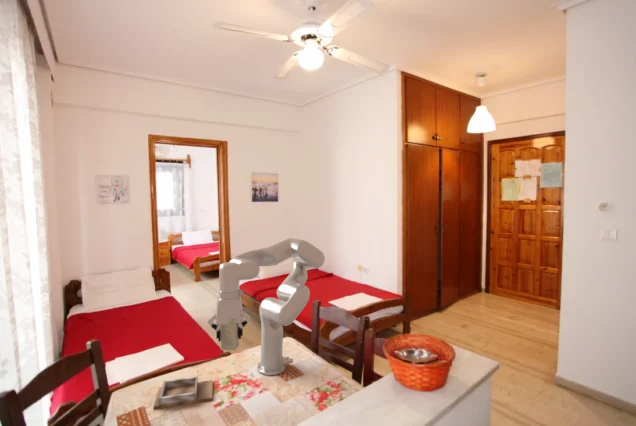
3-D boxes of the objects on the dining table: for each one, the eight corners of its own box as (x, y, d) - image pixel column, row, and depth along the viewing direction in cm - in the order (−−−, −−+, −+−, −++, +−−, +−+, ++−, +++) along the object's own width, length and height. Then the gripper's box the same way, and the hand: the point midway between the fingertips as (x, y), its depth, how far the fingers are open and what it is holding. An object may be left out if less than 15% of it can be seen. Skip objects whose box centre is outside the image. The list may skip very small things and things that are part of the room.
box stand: (212, 382, 135) (212, 374, 134) (212, 400, 123) (212, 391, 123) (159, 389, 129) (159, 381, 129) (153, 409, 117) (153, 399, 117)
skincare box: (239, 345, 131) (239, 316, 130) (235, 351, 126) (235, 320, 126) (223, 344, 132) (223, 315, 131) (219, 350, 127) (219, 319, 126)
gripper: (251, 289, 134) (251, 332, 135) (206, 293, 129) (206, 337, 130) (253, 295, 127) (253, 340, 128) (205, 299, 121) (205, 345, 123)
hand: (229, 338), depth 129 cm, fingers closed on skincare box, 7 cm apart
